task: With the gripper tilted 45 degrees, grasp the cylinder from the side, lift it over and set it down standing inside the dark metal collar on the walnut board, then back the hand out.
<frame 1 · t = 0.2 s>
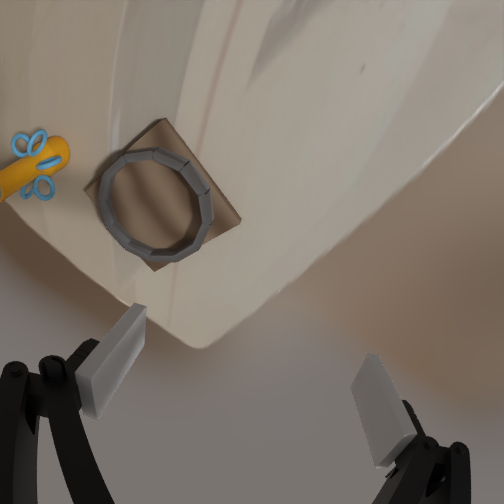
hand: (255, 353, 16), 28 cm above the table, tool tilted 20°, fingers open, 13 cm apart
hub board: (158, 201, 42), on the table
cylinder: (58, 151, 39), on the table
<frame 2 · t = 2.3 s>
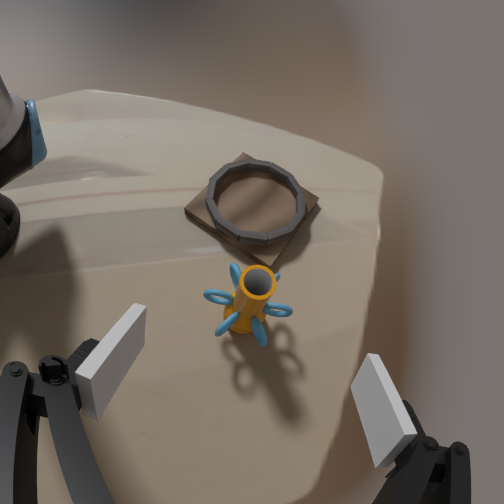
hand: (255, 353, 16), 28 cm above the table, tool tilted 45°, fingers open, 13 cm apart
hub board: (254, 206, 54), on the table
cylinder: (242, 316, 45), on the table
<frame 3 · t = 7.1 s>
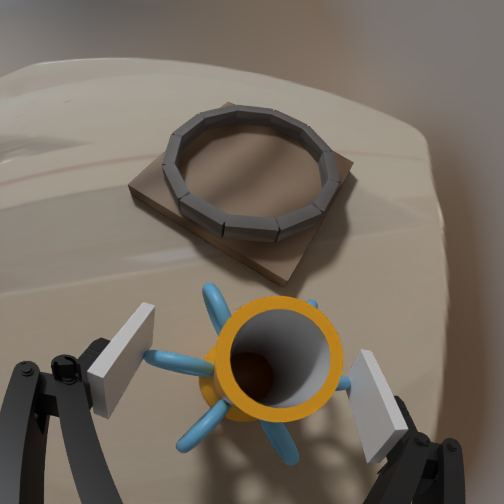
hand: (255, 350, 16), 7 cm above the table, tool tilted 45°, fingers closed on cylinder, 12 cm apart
hub board: (249, 177, 31), on the table
cylinder: (238, 382, 22), on the table, touching gripper
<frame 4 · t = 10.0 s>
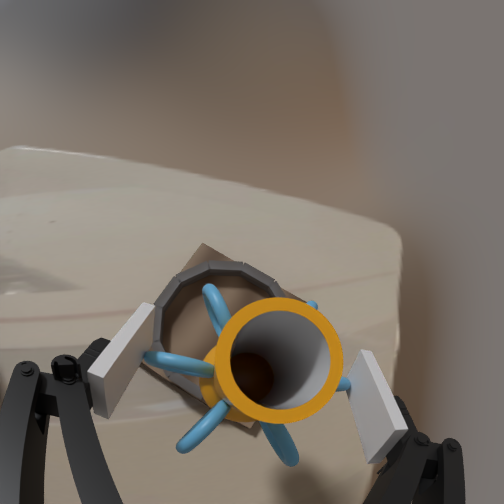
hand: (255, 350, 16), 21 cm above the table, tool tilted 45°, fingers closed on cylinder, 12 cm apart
hub board: (223, 333, 37), on the table
cylinder: (238, 382, 22), point 14 cm above the table, touching gripper
when the fingers open (10 cm above the table, at t = 13.3 s): cylinder drops 1 cm, resting on hub board.
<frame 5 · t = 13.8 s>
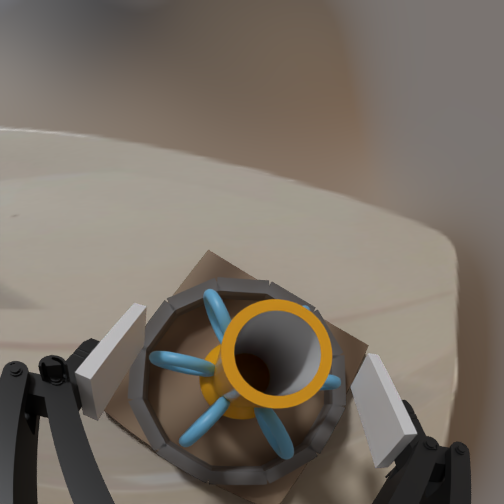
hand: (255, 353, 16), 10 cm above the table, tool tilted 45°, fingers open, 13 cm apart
hub board: (236, 384, 24), on the table
cylinder: (236, 383, 23), point 1 cm above the table, touching hub board
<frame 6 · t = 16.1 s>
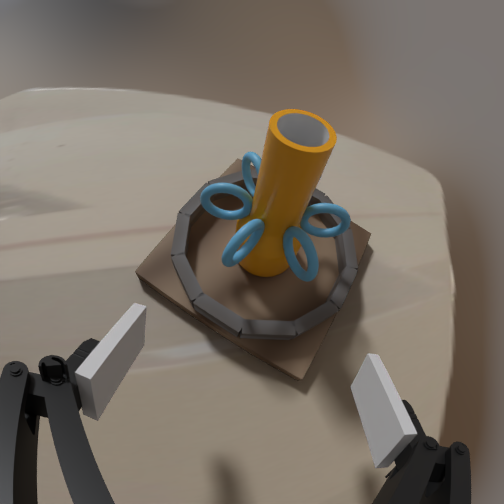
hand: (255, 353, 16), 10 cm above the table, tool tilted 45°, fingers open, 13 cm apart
hub board: (263, 257, 30), on the table
cylinder: (263, 251, 29), point 1 cm above the table, touching hub board
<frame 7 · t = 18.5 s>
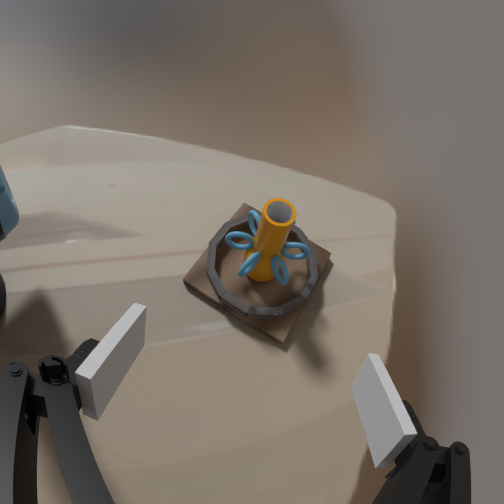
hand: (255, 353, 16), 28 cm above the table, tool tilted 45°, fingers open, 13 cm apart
hub board: (260, 269, 49), on the table
cylinder: (260, 266, 48), point 1 cm above the table, touching hub board
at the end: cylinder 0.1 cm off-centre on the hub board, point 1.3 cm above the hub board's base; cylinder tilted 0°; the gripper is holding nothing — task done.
